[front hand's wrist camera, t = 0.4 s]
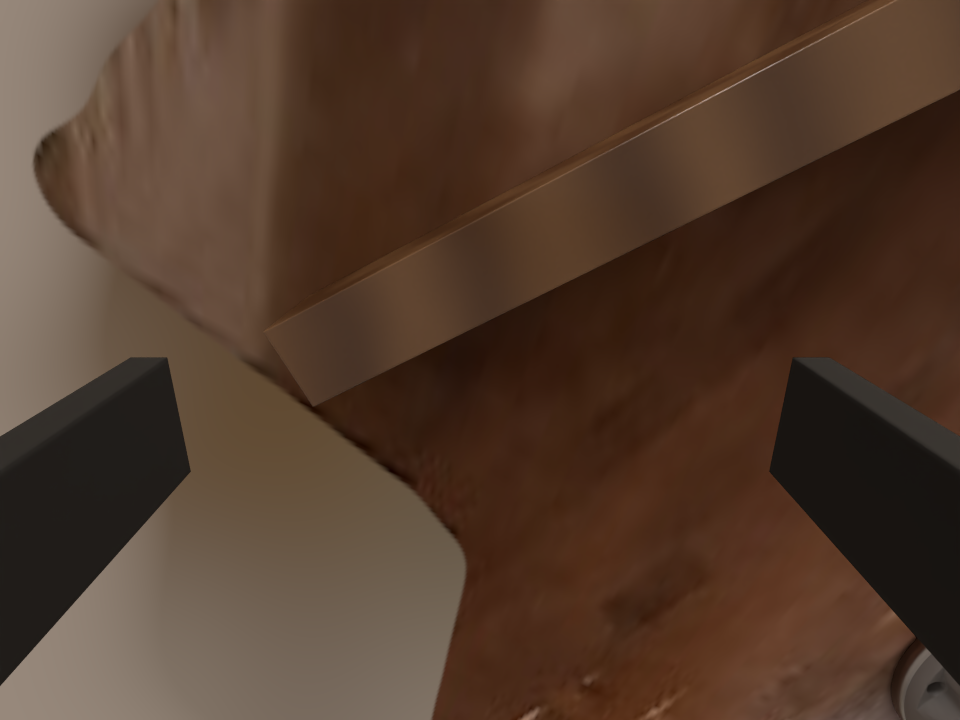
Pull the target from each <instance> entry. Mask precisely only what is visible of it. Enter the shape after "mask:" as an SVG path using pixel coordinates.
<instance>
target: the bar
mask: <svg viewBox="0 0 960 720" xmlns="http://www.w3.org/2000/svg"><path fill="white" fill-rule="evenodd" d="M959 90H960V0H868V1H866V2H864V3H862V4H860V5H858V6H856V7H854V8H853V9H851V10H849V11H847V12H845V13H843V14H841V15H839V16H837V17H836V18H834V19H832V20H830V21H828V22H826V23H824V24H822V25H820V26H818V27H817V28H815V29H813V30H811V31H809V32H807V33H805V34H803V35H801V36H800V37H798V38H796V39H794V40H792V41H790V42H788V43H786V44H784V45H783V46H781V47H779V48H777V49H775V50H773V51H771V52H769V53H767V54H766V55H764V56H762V57H760V58H758V59H756V60H754V61H752V62H750V63H749V64H747V65H745V66H743V67H741V68H739V69H737V70H735V71H733V72H732V73H730V74H728V75H726V76H724V77H722V78H720V79H718V80H716V81H714V82H713V83H711V84H709V85H707V86H705V87H703V88H701V89H699V90H697V91H696V92H694V93H692V94H690V95H688V96H686V97H684V98H682V99H680V100H679V101H677V102H675V103H673V104H671V105H669V106H667V107H665V108H663V109H662V110H660V111H658V112H656V113H654V114H652V115H650V116H648V117H646V118H645V119H643V120H641V121H639V122H637V123H635V124H633V125H631V126H629V127H628V128H626V129H624V130H622V131H620V132H618V133H616V134H614V135H612V136H610V137H609V138H607V139H605V140H603V141H601V142H599V143H597V144H595V145H593V146H592V147H590V148H588V149H586V150H584V151H582V152H580V153H578V154H576V155H575V156H573V157H571V158H569V159H567V160H565V161H563V162H561V163H559V164H558V165H556V166H554V167H552V168H550V169H548V170H546V171H544V172H542V173H541V174H539V175H537V176H535V177H533V178H531V179H529V180H527V181H525V182H524V183H522V184H520V185H518V186H516V187H514V188H512V189H510V190H508V191H506V192H505V193H503V194H501V195H499V196H497V197H495V198H493V199H491V200H489V201H488V202H486V203H484V204H482V205H480V206H478V207H476V208H474V209H472V210H471V211H469V212H467V213H465V214H463V215H461V216H459V217H457V218H455V219H454V220H452V221H450V222H448V223H446V224H444V225H442V226H440V227H438V228H437V229H435V230H433V231H431V232H429V233H427V234H425V235H423V236H421V237H420V238H418V239H416V240H414V241H412V242H410V243H408V244H406V245H404V246H402V247H401V248H399V249H397V250H395V251H393V252H391V253H389V254H387V255H385V256H384V257H382V258H380V259H378V260H376V261H374V262H372V263H370V264H368V265H367V266H365V267H363V268H361V269H359V270H357V271H355V272H353V273H351V274H350V275H348V276H346V277H344V278H342V279H340V280H338V281H336V282H334V283H333V284H331V285H329V286H327V287H325V288H323V289H321V290H319V291H317V292H316V293H314V294H312V295H310V296H308V297H307V298H306V299H304V300H303V301H302V302H300V303H299V304H298V305H297V306H295V307H294V308H293V309H292V310H290V311H289V312H288V313H286V314H285V315H284V316H283V317H281V318H280V319H279V320H278V321H276V322H275V323H274V324H272V325H271V326H270V327H269V328H267V329H266V330H265V331H264V334H265V335H266V337H267V338H268V340H269V341H270V343H271V344H272V346H273V347H274V349H275V350H276V352H277V353H278V355H279V356H280V358H281V359H282V361H283V362H284V364H285V365H286V367H287V368H288V370H289V371H290V373H291V374H292V376H293V377H294V379H295V380H296V382H297V383H298V385H299V386H300V388H301V389H302V391H303V392H304V394H305V395H306V397H307V398H308V400H309V401H310V403H311V404H312V406H316V405H318V404H320V403H322V402H324V401H326V400H328V399H330V398H332V397H334V396H336V395H339V394H341V393H343V392H345V391H347V390H349V389H351V388H353V387H355V386H357V385H359V384H361V383H363V382H365V381H367V380H369V379H371V378H373V377H375V376H377V375H379V374H381V373H383V372H385V371H387V370H390V369H392V368H394V367H396V366H398V365H400V364H402V363H404V362H406V361H408V360H410V359H412V358H414V357H416V356H418V355H420V354H422V353H424V352H426V351H428V350H430V349H432V348H434V347H436V346H438V345H441V344H443V343H445V342H447V341H449V340H451V339H453V338H455V337H457V336H459V335H461V334H463V333H465V332H467V331H469V330H471V329H473V328H475V327H477V326H479V325H481V324H483V323H485V322H487V321H489V320H492V319H494V318H496V317H498V316H500V315H502V314H504V313H506V312H508V311H510V310H512V309H514V308H516V307H518V306H520V305H522V304H524V303H526V302H528V301H530V300H532V299H534V298H536V297H538V296H540V295H543V294H545V293H547V292H549V291H551V290H553V289H555V288H557V287H559V286H561V285H563V284H565V283H567V282H569V281H571V280H573V279H575V278H577V277H579V276H581V275H583V274H585V273H587V272H589V271H591V270H594V269H596V268H598V267H600V266H602V265H604V264H606V263H608V262H610V261H612V260H614V259H616V258H618V257H620V256H622V255H624V254H626V253H628V252H630V251H632V250H634V249H636V248H638V247H640V246H642V245H645V244H647V243H649V242H651V241H653V240H655V239H657V238H659V237H661V236H663V235H665V234H667V233H669V232H671V231H673V230H675V229H677V228H679V227H681V226H683V225H685V224H687V223H689V222H691V221H693V220H696V219H698V218H700V217H702V216H704V215H706V214H708V213H710V212H712V211H714V210H716V209H718V208H720V207H722V206H724V205H726V204H728V203H730V202H732V201H734V200H736V199H738V198H740V197H742V196H744V195H746V194H749V193H751V192H753V191H755V190H757V189H759V188H761V187H763V186H765V185H767V184H769V183H771V182H773V181H775V180H777V179H779V178H781V177H783V176H785V175H787V174H789V173H791V172H793V171H795V170H797V169H800V168H802V167H804V166H806V165H808V164H810V163H812V162H814V161H816V160H818V159H820V158H822V157H824V156H826V155H828V154H830V153H832V152H834V151H836V150H838V149H840V148H842V147H844V146H846V145H848V144H851V143H853V142H855V141H857V140H859V139H861V138H863V137H865V136H867V135H869V134H871V133H873V132H875V131H877V130H879V129H881V128H883V127H885V126H887V125H889V124H891V123H893V122H895V121H897V120H899V119H902V118H904V117H906V116H908V115H910V114H912V113H914V112H916V111H918V110H920V109H922V108H924V107H926V106H928V105H930V104H932V103H934V102H936V101H938V100H940V99H942V98H944V97H946V96H948V95H950V94H953V93H955V92H957V91H959Z"/></svg>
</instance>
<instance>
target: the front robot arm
mask: <svg viewBox="0 0 960 720" xmlns="http://www.w3.org/2000/svg"><path fill="white" fill-rule="evenodd" d="M190 472H191V471H190V466H189V461H188V456H187V451H186V446H185V442H184V437H183V432H182V427H181V422H180V417H179V413H178V408H177V403H176V398H175V393H174V388H173V383H172V379H171V374H170V369H169V364H168V359H167V358H129V359H128V360H126V361H124V362H122V363H121V364H119V365H118V366H116V367H114V368H113V369H111V370H109V371H108V372H106V373H104V374H103V375H101V376H99V377H98V378H96V379H94V380H93V381H91V382H89V383H88V384H86V385H85V386H83V387H81V388H80V389H78V390H76V391H75V392H73V393H71V394H70V395H68V396H66V397H65V398H63V399H61V400H60V401H58V402H56V403H55V404H53V405H52V406H50V407H48V408H47V409H45V410H43V411H42V412H40V413H38V414H37V415H35V416H33V417H32V418H30V419H28V420H27V421H25V422H24V423H22V424H20V425H19V426H17V427H15V428H14V429H12V430H10V431H9V432H7V433H5V434H4V435H2V436H0V686H1V684H2V683H3V682H4V681H5V680H6V679H7V678H8V677H9V675H10V674H11V673H12V672H13V671H14V670H15V669H16V668H17V666H18V665H19V664H20V663H21V662H22V661H23V660H24V658H25V657H26V656H27V655H28V654H29V653H30V652H31V651H32V650H33V648H34V647H35V646H36V645H37V644H38V643H39V642H40V641H41V639H42V638H43V637H44V636H45V635H46V634H47V633H48V632H49V630H50V629H51V628H52V627H53V626H54V625H55V624H56V622H57V621H58V620H59V619H60V618H61V617H62V616H63V615H64V613H65V612H66V611H67V610H68V609H69V608H70V607H71V606H72V605H73V603H74V602H75V601H76V600H77V599H78V598H79V597H80V596H81V594H82V593H83V592H84V591H85V590H86V589H87V588H88V586H89V585H90V584H91V583H92V582H93V581H94V580H95V579H96V577H97V576H98V575H99V574H100V573H101V572H102V571H103V570H104V568H105V567H106V566H107V565H108V564H109V563H110V562H111V561H112V559H113V558H114V557H115V556H116V555H117V554H118V553H119V552H120V550H121V549H122V548H123V547H124V546H125V545H126V544H127V543H128V541H129V540H130V539H131V538H132V537H133V536H134V535H135V534H136V532H137V531H138V530H139V529H140V528H141V527H142V526H143V525H144V523H145V522H146V521H147V520H148V519H149V518H150V517H151V516H152V514H153V513H154V512H155V511H156V510H157V509H158V508H159V507H160V505H161V504H162V503H163V502H164V501H165V500H166V499H167V498H168V496H169V495H170V494H171V493H172V492H173V491H174V490H175V489H176V487H177V486H178V485H179V484H180V483H181V482H182V481H183V480H184V478H185V477H186V476H187V475H188V474H189V473H190ZM769 472H770V473H771V474H772V475H773V476H774V477H775V478H776V480H777V481H778V482H779V483H780V484H781V485H782V486H783V487H784V489H785V490H786V491H787V492H788V493H789V494H790V495H791V496H792V498H793V499H794V500H795V501H796V502H797V503H798V504H799V505H800V507H801V508H802V509H803V510H804V511H805V512H806V513H807V514H808V516H809V517H810V518H811V519H812V520H813V521H814V522H815V523H816V525H817V526H818V527H819V528H820V529H821V530H822V531H823V532H824V534H825V535H826V536H827V537H828V538H829V539H830V540H831V541H832V543H833V544H834V545H835V546H836V547H837V548H838V549H839V550H840V552H841V553H842V554H843V555H844V556H845V557H846V558H847V559H848V561H849V562H850V563H851V564H852V565H853V566H854V567H855V568H856V570H857V571H858V572H859V573H860V574H861V575H862V576H863V577H864V579H865V580H866V581H867V582H868V583H869V584H870V585H871V587H872V588H873V589H874V590H875V591H876V592H877V593H878V594H879V596H880V597H881V598H882V599H883V600H884V601H885V602H886V603H887V605H888V606H889V607H890V608H891V609H892V610H893V611H894V612H895V614H896V615H897V616H898V617H899V618H900V619H901V620H902V621H903V623H904V624H905V625H906V626H907V627H908V628H909V629H910V630H911V632H912V633H913V634H914V635H915V636H916V637H917V639H916V640H915V642H914V643H913V644H912V645H911V646H910V647H909V648H908V649H907V651H906V652H905V653H904V655H903V656H902V658H901V659H900V661H899V663H898V665H897V667H896V670H895V672H894V675H893V679H892V685H891V696H892V702H893V705H894V708H895V710H896V712H897V714H898V715H899V717H900V718H901V719H902V720H960V436H958V435H956V434H955V433H953V432H951V431H950V430H948V429H946V428H945V427H943V426H941V425H940V424H938V423H937V422H935V421H933V420H932V419H930V418H928V417H927V416H925V415H923V414H922V413H920V412H918V411H917V410H915V409H913V408H912V407H910V406H908V405H907V404H905V403H904V402H902V401H900V400H899V399H897V398H895V397H894V396H892V395H890V394H889V393H887V392H885V391H884V390H882V389H880V388H879V387H877V386H875V385H874V384H872V383H871V382H869V381H867V380H866V379H864V378H862V377H861V376H859V375H857V374H856V373H854V372H852V371H851V370H849V369H847V368H846V367H844V366H842V365H841V364H839V363H838V362H836V361H834V360H833V359H831V358H793V359H792V364H791V369H790V374H789V379H788V383H787V388H786V393H785V398H784V403H783V408H782V412H781V417H780V422H779V427H778V432H777V437H776V442H775V446H774V451H773V456H772V461H771V466H770V471H769Z"/></svg>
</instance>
